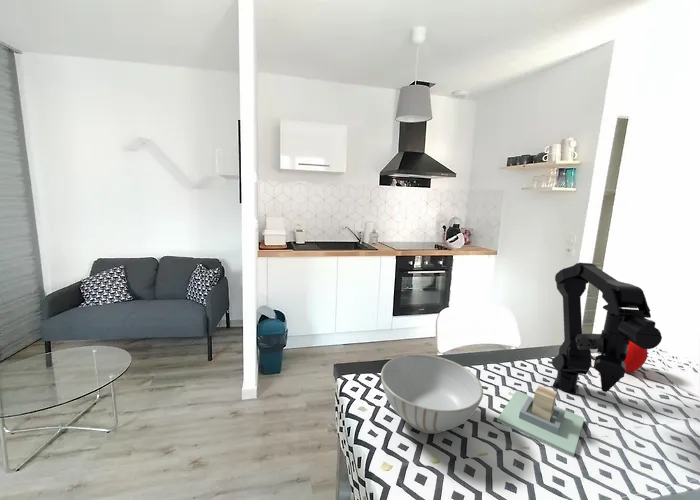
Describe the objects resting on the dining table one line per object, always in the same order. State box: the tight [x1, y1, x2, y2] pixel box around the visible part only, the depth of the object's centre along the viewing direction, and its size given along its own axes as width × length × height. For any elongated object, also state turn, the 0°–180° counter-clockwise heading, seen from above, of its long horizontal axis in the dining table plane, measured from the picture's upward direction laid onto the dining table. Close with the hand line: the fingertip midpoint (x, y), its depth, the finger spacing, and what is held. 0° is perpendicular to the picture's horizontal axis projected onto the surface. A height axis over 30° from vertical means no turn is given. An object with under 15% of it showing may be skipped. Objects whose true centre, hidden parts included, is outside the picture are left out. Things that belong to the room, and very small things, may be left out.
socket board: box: [497, 390, 585, 458], centre depth 94 cm, size 18×18×3 cm
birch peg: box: [531, 385, 558, 422], centre depth 93 cm, size 4×4×8 cm
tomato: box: [623, 341, 648, 373], centre depth 124 cm, size 11×11×13 cm
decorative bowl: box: [380, 353, 484, 434], centre depth 92 cm, size 27×27×12 cm
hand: (605, 384), depth 92 cm, fingers open, 9 cm apart
